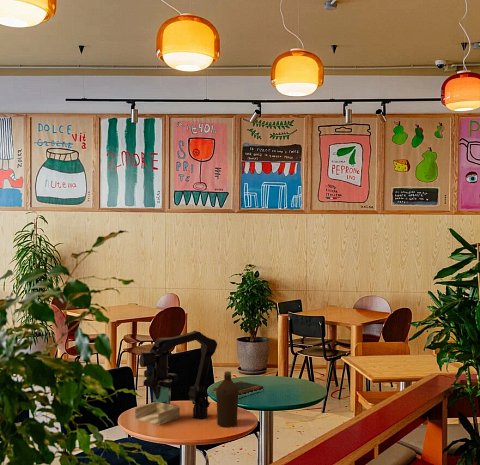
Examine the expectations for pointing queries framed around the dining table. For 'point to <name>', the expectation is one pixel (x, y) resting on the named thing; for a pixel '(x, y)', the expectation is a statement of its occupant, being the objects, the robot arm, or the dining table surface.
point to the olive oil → (227, 402)
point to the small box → (168, 398)
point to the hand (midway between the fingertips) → (161, 398)
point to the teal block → (162, 395)
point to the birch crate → (157, 413)
